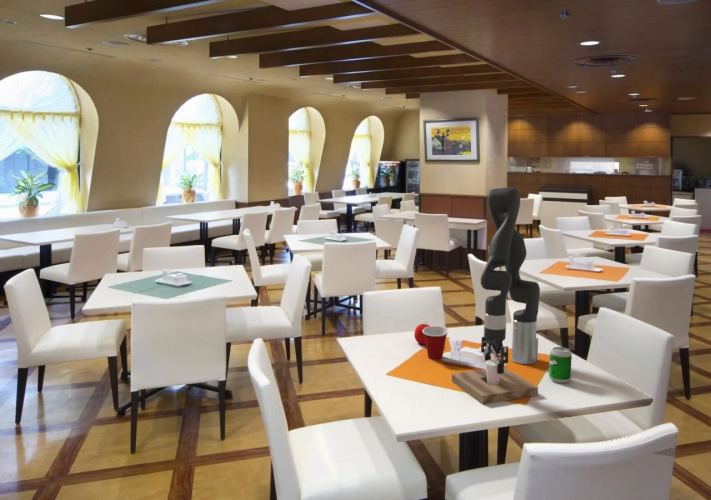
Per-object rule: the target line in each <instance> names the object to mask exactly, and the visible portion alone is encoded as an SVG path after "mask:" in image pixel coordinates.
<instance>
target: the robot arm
mask: <svg viewBox="0 0 711 500" xmlns="http://www.w3.org/2000/svg"><path fill="white" fill-rule="evenodd" d="M487 204H488V209H489V212H490V215H491V218H492V221H493V223H494V226H495V230H496V232H495V234H494V235H493V236H492V238H491V241H490V244H489V251H488V259H487V262H486V264H485V266H484V268H483V272H482V273H481V276H480V286H481V287H482V288H483V289H484V290H487V291H488V290H489V291H498V292H500V293H499V294H495V295H491V296H490V295H489V296H487V297H486V298H485V302H484V303H485V305H484V306H485V311H484V319H483V320H484V321H483V323H484V324H483V336H481V342H480V344H481V345H480V352H481V353H483V356H484V362H485V361H487V360H492V355H493V357H494V359H495V358H496V360H497V362H498V363H497V373H498V374H503V373H504V367H505V364H509V346H508V345H505V346H504V344H503V342H504V341H505V340H506V335H507V318H506V317H507V316H506V315H507V314H506V313H507V311H506V310H507V309H506V308H507V298H508V294H509V295H510V299H511V300H512V301H513V302H515V303H519V304H520V303H521V304H525V308H524V309H519V310H515V311H514V312H513V315H512V340H511V341H512V342H511V345H512V346H511V347H512V348H511V360H512V362H514V363H517V364H521V365H531V364H535V363H536V362H538V355H539V354H538V353H539V352H538V351H539V338H538V337H537V323H538V321H537V320H538V314H539V306H540V305H539V304H540V294H541V290H540V288H541V287H540V285H539V283H538V282H536V281H533V280H532V281H531V280H525V279H522V278H521V276H520V269H521V267H522V265H523V264H524V262H525V261H526V259H527V258H526V257H527V247H526V244H525V240H524V237H523V235H522V234H521V233H520V232H519V231H518V230H517V228H515V227H516V223H517V220H518V215H519V211H520V208H521V194H520V191H519V189H518V188H516V187H501V188H500V187H499V188H493V189H490V190H488V193H487ZM505 214H506V216H505ZM501 267H505V270H497V268H501ZM495 269H496V270H495Z"/></svg>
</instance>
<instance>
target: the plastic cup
mask: <svg viewBox="0 0 711 500" xmlns="http://www.w3.org/2000/svg"><path fill="white" fill-rule="evenodd" d="M429 326H430V327H426V328H424V329H423V330H422V332H423V334H424V337H425V342H426V345H425V346H426V351H427V357H428V359H431V360H441V359H442V358H443V356H444V351H445V345H446V340H447V336H448V333H449V329H447V328H446V327H444V326H438V325H433V326H432V325H429Z"/></svg>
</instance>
